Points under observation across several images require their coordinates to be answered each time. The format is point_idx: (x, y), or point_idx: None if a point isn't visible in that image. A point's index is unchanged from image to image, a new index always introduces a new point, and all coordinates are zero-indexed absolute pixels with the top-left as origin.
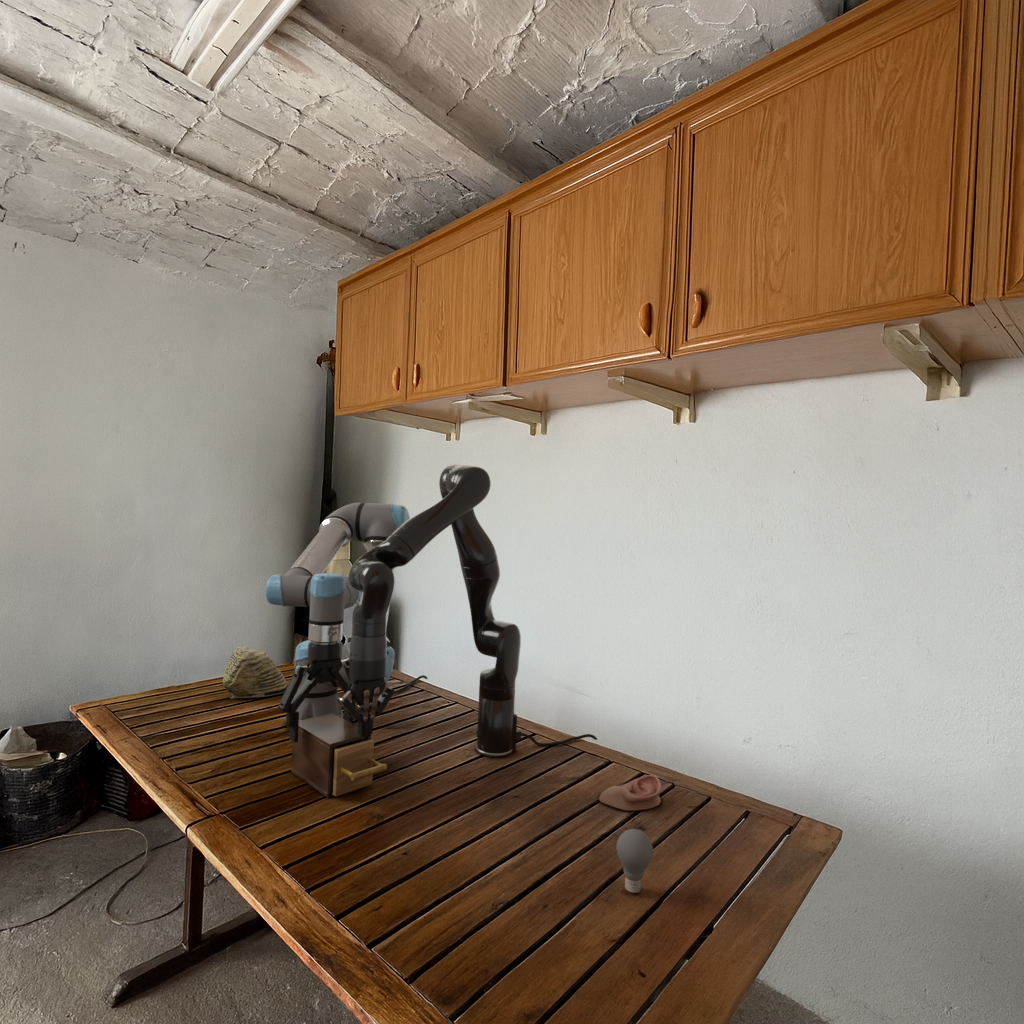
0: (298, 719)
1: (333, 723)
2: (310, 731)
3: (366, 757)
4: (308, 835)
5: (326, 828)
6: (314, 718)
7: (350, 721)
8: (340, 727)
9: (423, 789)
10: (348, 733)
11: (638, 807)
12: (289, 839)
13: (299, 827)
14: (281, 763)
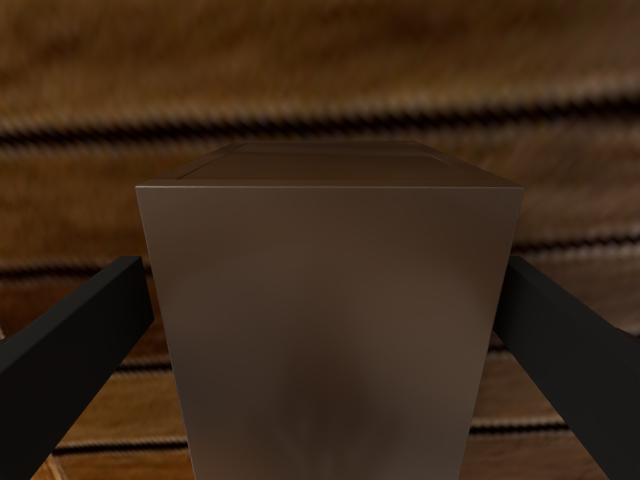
0: (62, 433)
1: (377, 376)
2: (189, 403)
3: None
4: (152, 465)
5: None
6: (323, 215)
7: (514, 351)
8: (370, 445)
9: (473, 459)
10: None
11: None
12: (112, 457)
13: (144, 435)
14: (235, 25)
